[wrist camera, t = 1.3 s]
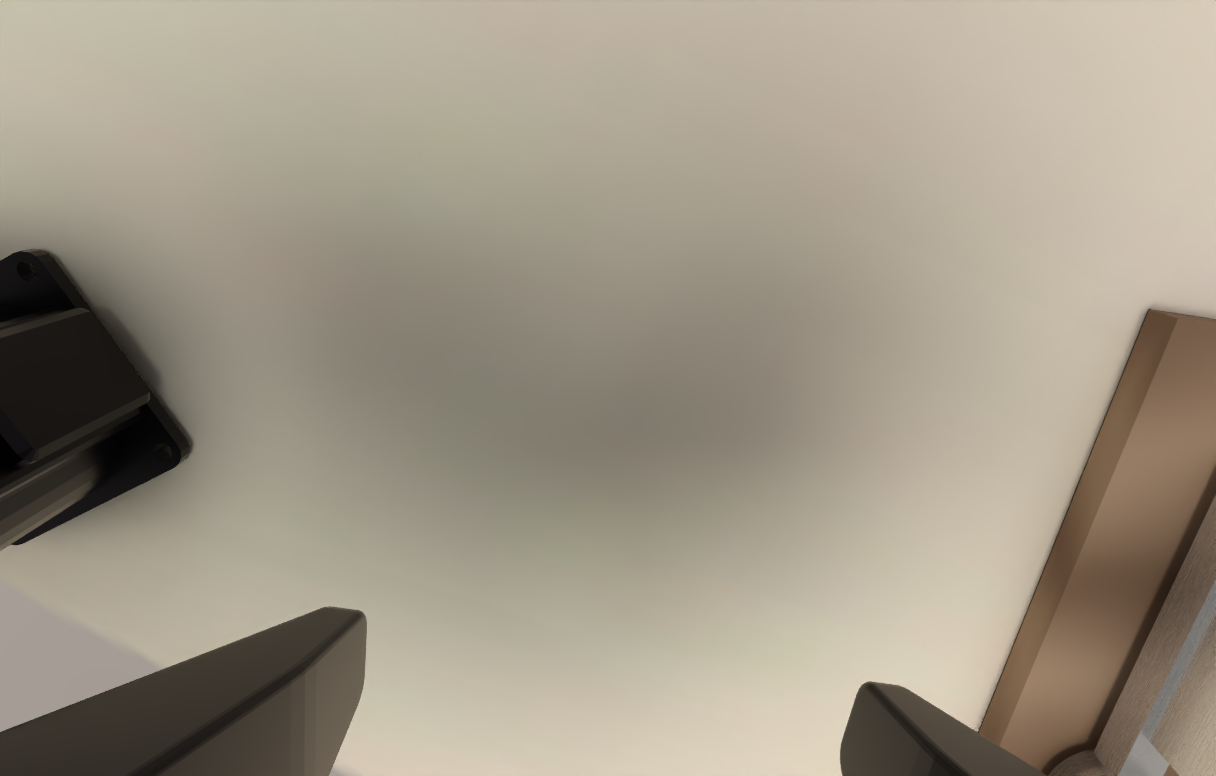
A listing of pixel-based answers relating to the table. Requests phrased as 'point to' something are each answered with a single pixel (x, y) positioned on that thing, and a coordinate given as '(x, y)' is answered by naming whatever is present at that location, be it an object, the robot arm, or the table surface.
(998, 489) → the table surface
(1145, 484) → the board
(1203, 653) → the lever
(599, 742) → the table surface
